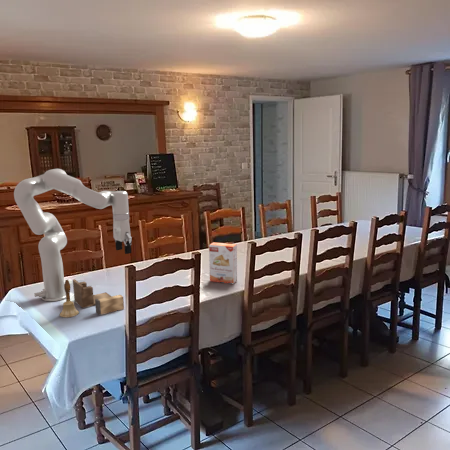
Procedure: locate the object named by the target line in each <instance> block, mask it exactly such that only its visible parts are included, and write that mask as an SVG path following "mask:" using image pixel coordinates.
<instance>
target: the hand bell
mask: <svg viewBox="0 0 450 450" xmlns="http://www.w3.org/2000/svg"><path fill="white" fill-rule="evenodd" d="M64 289H65V292H66V298H65V301H64V302H63V303H62V304H63V305H62V310H61V312H60V313H59V317H60V318H72V317H76V316H77V315H79V314H80V312H79V310H77V308H76V305H75V303H74V302H75V301H72V300H71V295H70V293H71V283H70V280H69V279H64Z"/></svg>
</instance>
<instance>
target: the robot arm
mask: <svg viewBox="0 0 450 450" xmlns="http://www.w3.org/2000/svg"><path fill="white" fill-rule="evenodd" d="M52 190H55V191H58V192H60V193H63V194H65V195H68V196H71V197H72V198H74V200H75V199H76V200H78V202H80V203H82V204H85V205H87V206H89V207H92V208H95V209H99V210H102V209H105V208H107V207H109V206H111V207H112V219H113V221H112V223H113V224H112V229H113V230H112V232H113V233H112V235H113V239H114V242H115V250H116V251H121V250H123V248H124V254H125V255H128V254H132V238H133V237H132V236H131V228H130V227H131V226H130V210H129V209H130V208H129V196H128V195H129V194H128V192H127V191H125V190H116V191H115V190H114V191H113V190H102V191H99V192H98V191H96V190H93V189H92V188H91V189H90V188H89V187H86V186H85V185H84V184H83V182H82V180H80V179H79V178H76V177H74V176H71V175H68V174H67V173H66V171H65V170H64V169H62V168H53V169H48V170H46V171H45V172H44V173H42V174H39V175H37V176H34V177H31V178H30V177H29V178H25V179H23V180H21V181H19V182H18V184H16V186H15V188H14V191H13V197H14V198H13V199H14V202H15V203H16V205H17V207H18V209H20V212H21V213H22V216H23V217H24V219H25V221H26V223H27V225H28V226H29V229H30V230H31V231H32V233H34V234H35V235H38V236H39V235H40V236H41V235H44V237H42V238H41V239H40V240H39V242H38V246H37V247H38V253H39V256H40V257H39V258H40V261H41V268H42V269H41V271H42V279H43V280H42V281H43V289H42V290H41V291H38V292H34V297H35V298H36V297H38V298H41V300H42V301H44V302H58V301H61V300H66V292H65V289H64V284H65V276H64V264H63V259H62V254H61V250H63V249H64V248H65V247H66V246H67V244H68V238H67V236H66V233H65V231H64V229H63V228H62V225H61V224H60V222H59V221H58V219H57V218H56V216H55V215H54V214H53V213H50V212H45V211H43V209H42V208H41V205H40V204H39V203H38V202H37V201H36V199H35V198H34V197H35V196H38V195H41V194H44V193H46V192H49V191H52ZM123 244H124V246H123Z"/></svg>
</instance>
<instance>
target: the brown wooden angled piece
mask: <svg viewBox="0 0 450 450" xmlns="http://www.w3.org/2000/svg"><path fill="white" fill-rule="evenodd" d="M72 286H73V297H74V301H73V302H75V303H76V304H77V305H79V306H80V307H81V308H82V309H85V308H90V307H95V299H103V298H107V297H112V296H111V294H109V293H108V292H102V293H101V292H100V293H96V294H94V287H92V285H89V286H88V285H87V282H86V281H80V282H79V281H78V280H77V279H76V278H74V279H72Z"/></svg>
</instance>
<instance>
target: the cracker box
mask: <svg viewBox="0 0 450 450" xmlns="http://www.w3.org/2000/svg"><path fill="white" fill-rule="evenodd" d="M237 245H238V244H237V243H236V244H235V243H225V242H214V241H213V242H211V243H210V244H209V245H208V248H209V249H208V250H209V251H208V252H209V254H208V256H209V257H208V258H209V259H208V261H209V282H214V283H220V282H224V283H223V284H228V283H234V284H235V283H236V282H237V281H238V249H237V248H238V246H237Z"/></svg>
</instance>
